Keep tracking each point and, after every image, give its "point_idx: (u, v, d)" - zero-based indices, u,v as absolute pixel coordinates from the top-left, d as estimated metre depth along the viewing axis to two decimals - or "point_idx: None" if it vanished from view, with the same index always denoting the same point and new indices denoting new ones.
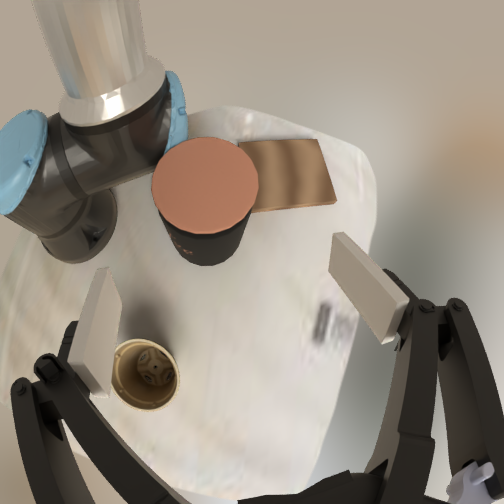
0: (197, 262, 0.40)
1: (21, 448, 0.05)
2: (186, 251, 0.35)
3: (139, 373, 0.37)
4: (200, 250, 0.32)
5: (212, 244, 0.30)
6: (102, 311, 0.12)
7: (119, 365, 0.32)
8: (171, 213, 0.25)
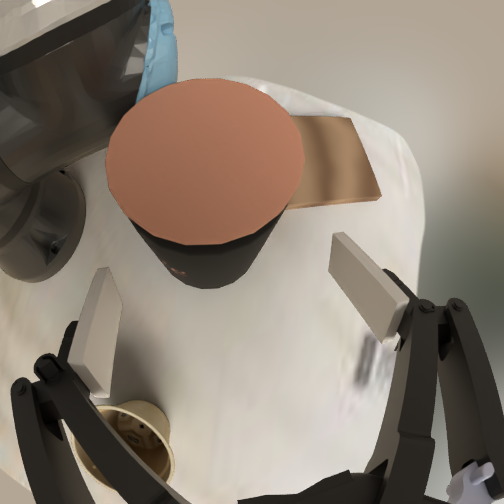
0: (194, 284, 0.27)
1: (21, 448, 0.05)
2: (176, 271, 0.21)
3: (121, 432, 0.24)
4: (197, 271, 0.19)
5: (218, 262, 0.17)
6: (102, 311, 0.12)
7: None
8: (137, 205, 0.12)
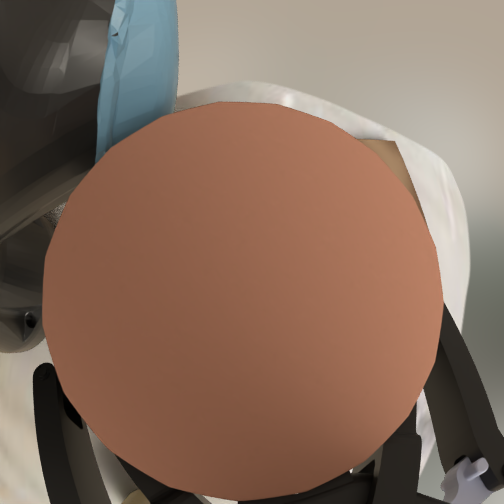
0: None
1: (38, 433, 0.06)
2: None
3: None
4: None
5: None
6: None
7: None
8: (131, 442, 0.05)
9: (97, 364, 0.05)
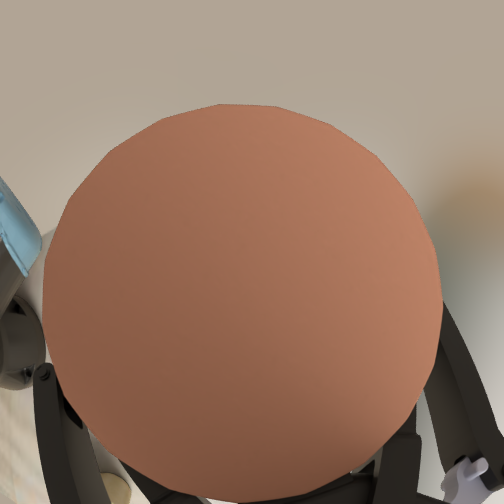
0: None
1: (38, 433, 0.06)
2: None
3: None
4: None
5: None
6: None
7: None
8: (131, 445, 0.05)
9: (97, 368, 0.05)
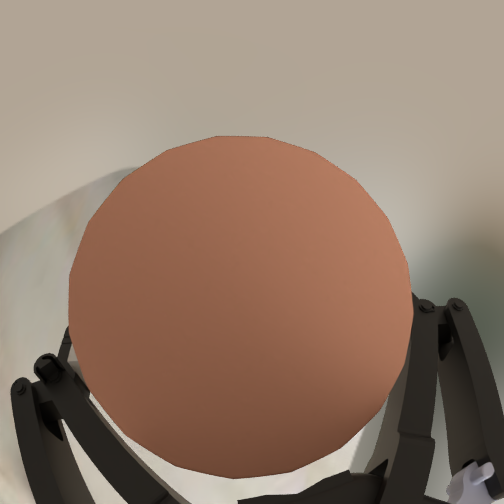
0: None
1: (21, 448, 0.05)
2: None
3: None
4: None
5: None
6: None
7: None
8: (145, 428, 0.06)
9: (118, 364, 0.06)
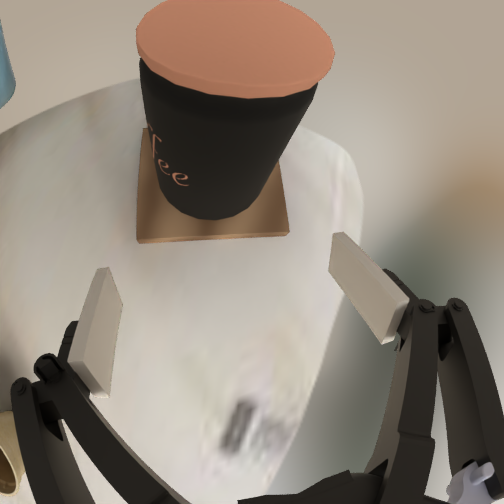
0: (192, 210, 0.24)
1: (21, 448, 0.05)
2: (177, 177, 0.19)
3: None
4: (205, 167, 0.16)
5: (233, 146, 0.14)
6: (102, 311, 0.12)
7: None
8: (165, 53, 0.10)
9: (162, 32, 0.10)
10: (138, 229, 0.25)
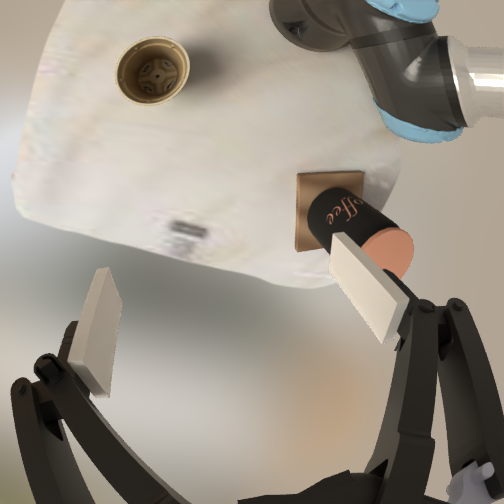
0: (314, 211, 0.47)
1: (21, 448, 0.05)
2: (331, 217, 0.42)
3: (151, 60, 0.33)
4: None
5: None
6: (102, 311, 0.12)
7: (161, 46, 0.27)
8: (373, 245, 0.34)
9: (385, 241, 0.34)
10: (305, 176, 0.47)
